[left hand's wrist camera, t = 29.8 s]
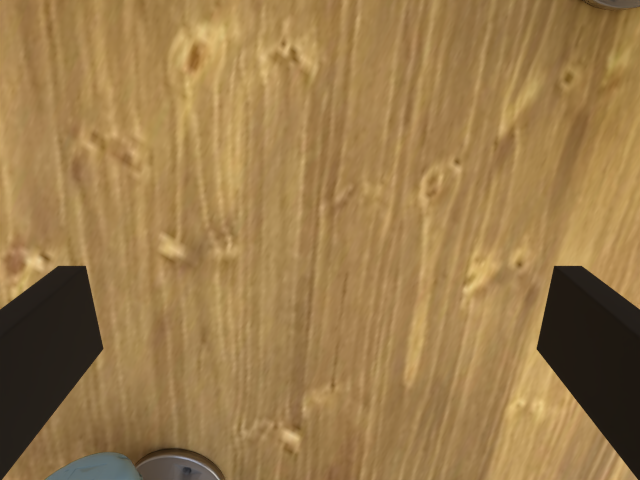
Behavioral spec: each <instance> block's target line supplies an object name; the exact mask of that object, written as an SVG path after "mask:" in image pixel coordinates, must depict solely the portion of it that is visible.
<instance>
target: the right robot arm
mask: <svg viewBox="0 0 640 480" xmlns="http://www.w3.org/2000/svg"><path fill="white" fill-rule="evenodd" d="M45 480H225V479H224V476H223V474H222V473H221V471H220V470H219V469H218V467H217V466H216V465H215V464H214V463H212V462H211V461H210V460H208V459H207V458H205V457H203V456H201V455H199V454H197V453H194V452H190V451H186V450H180V449H166V450H160V451H156V452H153V453H150V454H148V455H146V456H145V457H143V458H142V459H141V460H140V461H138V463H137V464H136V465H135V466H134V465H133V463H132V461H131V460H130V459H129V458H128V457H126V456H125V455H123V454H120V453H116V452H102V453H96V454H92V455H89V456H86V457H83V458H80V459H78V460H76V461H74V462H72V463H70V464H68V465H66V466H65V467H63V468H61V469H59V470H57V471H56V472H54V473H53V474H52V475H50V476H49V477H48V478H46V479H45Z"/></svg>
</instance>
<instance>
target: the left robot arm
mask: <svg viewBox="0 0 640 480" xmlns="http://www.w3.org/2000/svg"><path fill="white" fill-rule="evenodd" d="M583 1H584V2H586V3H588V4H590V5H592V6H594V7H597V8H601V9H607V10H624V9H630V8H635V7H639V6H640V0H583ZM102 350H103V345H102V340H101V335H100V331H99V326H98V321H97V317H96V312H95V307H94V302H93V298H92V293H91V288H90V284H89V279H88V274H87V270H86V266H58V267H56V268H55V269H54V270H52V271H51V272H50V273H48V274H47V275H46V276H44V277H43V278H42V279H40V280H39V281H38V282H36V283H35V284H34V285H32V286H31V287H30V288H28V289H27V290H26V291H24V292H23V293H22V294H20V295H19V296H18V297H16V298H15V299H14V300H12V301H11V302H10V303H8V304H7V305H6V306H4V307H3V308H2V309H0V480H2V479H3V478H4V476H5V475H6V474H7V472H8V471H9V470H10V469H11V467H12V466H13V465H14V463H15V462H16V461H17V459H18V458H19V457H20V456H21V454H22V453H23V452H24V450H25V449H26V448H27V447H28V445H29V444H30V443H31V441H32V440H33V439H34V438H35V436H36V435H37V434H38V432H39V431H40V430H41V429H42V427H43V426H44V425H45V423H46V422H47V421H48V420H49V418H50V417H51V416H52V414H53V413H54V412H55V411H56V409H57V408H58V407H59V405H60V404H61V403H62V402H63V400H64V399H65V398H66V396H67V395H68V394H69V392H70V391H71V390H72V389H73V387H74V386H75V385H76V383H77V382H78V381H79V380H80V378H81V377H82V376H83V374H84V373H85V372H86V371H87V369H88V368H89V367H90V365H91V364H92V363H93V362H94V360H95V359H96V358H97V356H98V355H99V354H100V353H101V351H102ZM537 350H538V351H539V353H540V354H541V355H542V356H543V358H544V359H545V360H546V362H547V363H548V364H549V365H550V367H551V368H552V369H553V371H554V372H555V373H556V374H557V376H558V377H559V378H560V380H561V381H562V382H563V383H564V385H565V386H566V387H567V389H568V390H569V391H570V392H571V394H572V395H573V396H574V398H575V399H576V400H577V402H578V403H579V404H580V405H581V407H582V408H583V409H584V411H585V412H586V413H587V414H588V416H589V417H590V418H591V420H592V421H593V422H594V423H595V425H596V426H597V427H598V429H599V430H600V431H601V432H602V434H603V435H604V436H605V438H606V439H607V440H608V441H609V443H610V444H611V445H612V447H613V448H614V449H615V450H616V452H617V453H618V454H619V456H620V457H621V458H622V459H623V461H624V462H625V463H626V465H627V466H628V467H629V469H630V470H631V471H632V472H633V474H634V475H635V476H636V478H637V479H638V480H640V309H638V308H637V307H636V306H634V305H633V304H632V303H630V302H629V301H628V300H626V299H625V298H624V297H622V296H621V295H620V294H618V293H617V292H616V291H614V290H613V289H612V288H610V287H609V286H608V285H606V284H605V283H604V282H602V281H601V280H600V279H598V278H597V277H596V276H594V275H593V274H592V273H590V272H589V271H588V270H586V269H585V268H584V267H582V266H554V270H553V274H552V279H551V284H550V288H549V293H548V298H547V302H546V307H545V312H544V317H543V321H542V326H541V331H540V335H539V340H538V345H537Z"/></svg>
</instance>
